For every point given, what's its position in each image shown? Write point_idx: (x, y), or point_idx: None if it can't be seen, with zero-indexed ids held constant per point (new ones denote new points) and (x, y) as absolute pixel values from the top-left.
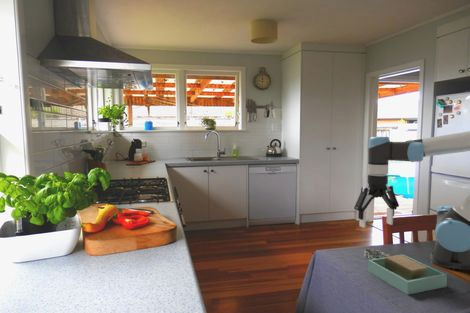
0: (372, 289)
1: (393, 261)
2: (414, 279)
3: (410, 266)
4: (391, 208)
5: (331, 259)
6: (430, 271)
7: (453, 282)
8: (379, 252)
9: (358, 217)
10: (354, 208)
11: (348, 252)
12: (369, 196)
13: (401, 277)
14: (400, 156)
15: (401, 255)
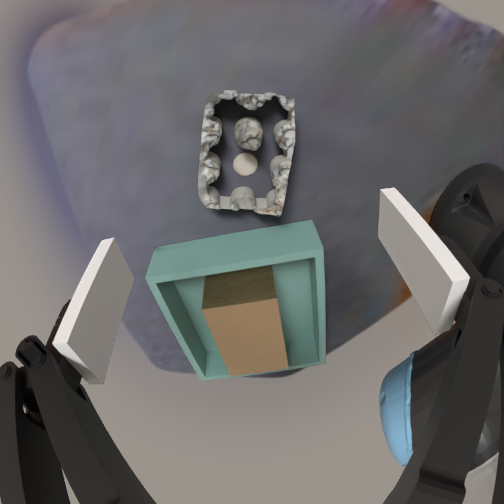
0: (136, 322)
1: (213, 336)
2: (225, 375)
3: (244, 363)
4: (457, 316)
5: (57, 130)
6: (317, 331)
7: (364, 312)
8: (290, 111)
9: (62, 310)
10: (2, 374)
11: (155, 47)
12: None
13: (198, 367)
14: None
15: (276, 304)
